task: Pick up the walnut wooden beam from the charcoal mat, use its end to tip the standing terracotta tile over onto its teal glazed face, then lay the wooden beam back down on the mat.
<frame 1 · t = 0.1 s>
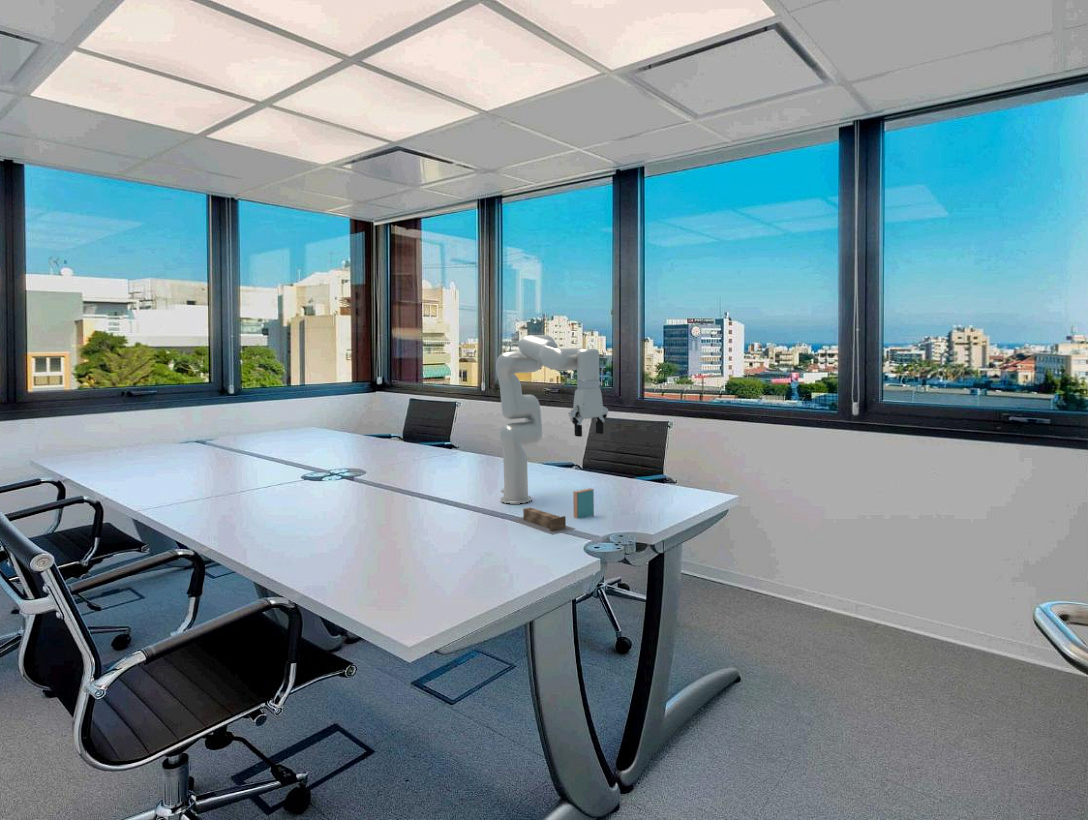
hand: (589, 434, 224), 31 cm above the table, tool pointing down, fingers open, 9 cm apart
tile: (583, 517, 234), on the table
wooden beam: (542, 524, 224), point 1 cm above the table, touching tool mat
tool mat: (542, 526, 224), on the table
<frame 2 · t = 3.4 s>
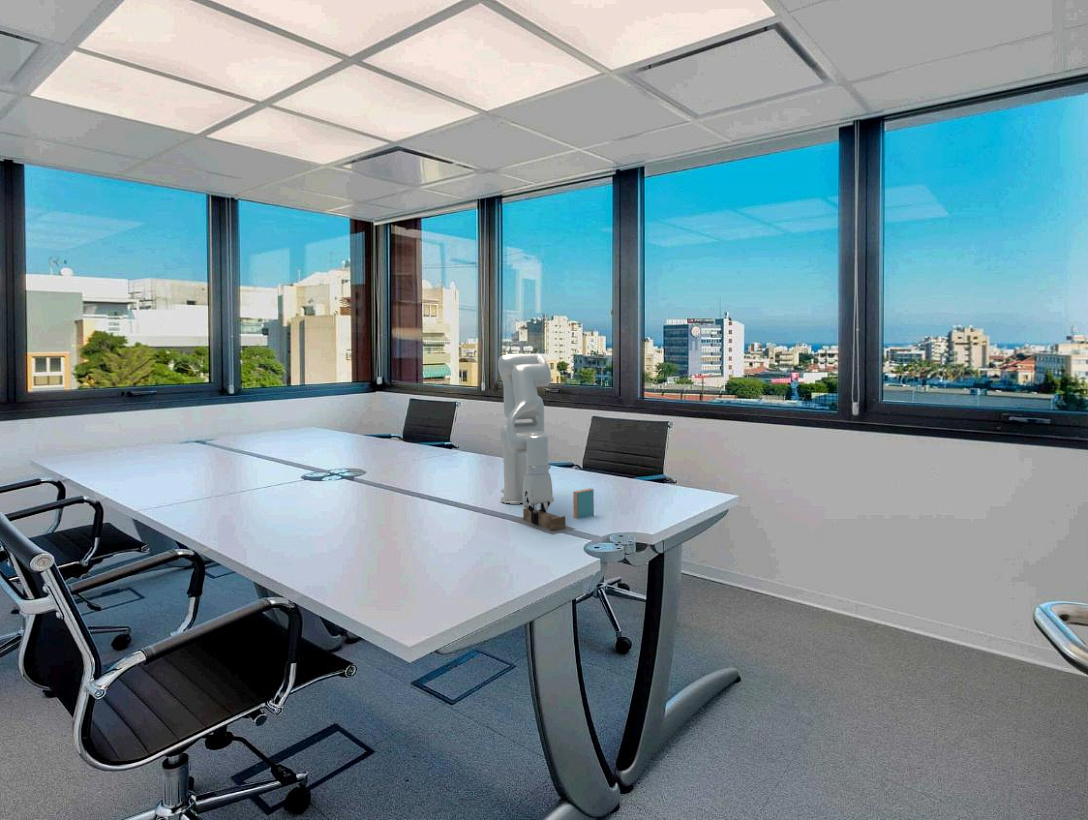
hand: (538, 522, 225), 1 cm above the table, tool pointing down, fingers closed on wooden beam, 2 cm apart
wooden beam: (542, 524, 224), point 1 cm above the table, touching gripper, tool mat
everything else where it was.
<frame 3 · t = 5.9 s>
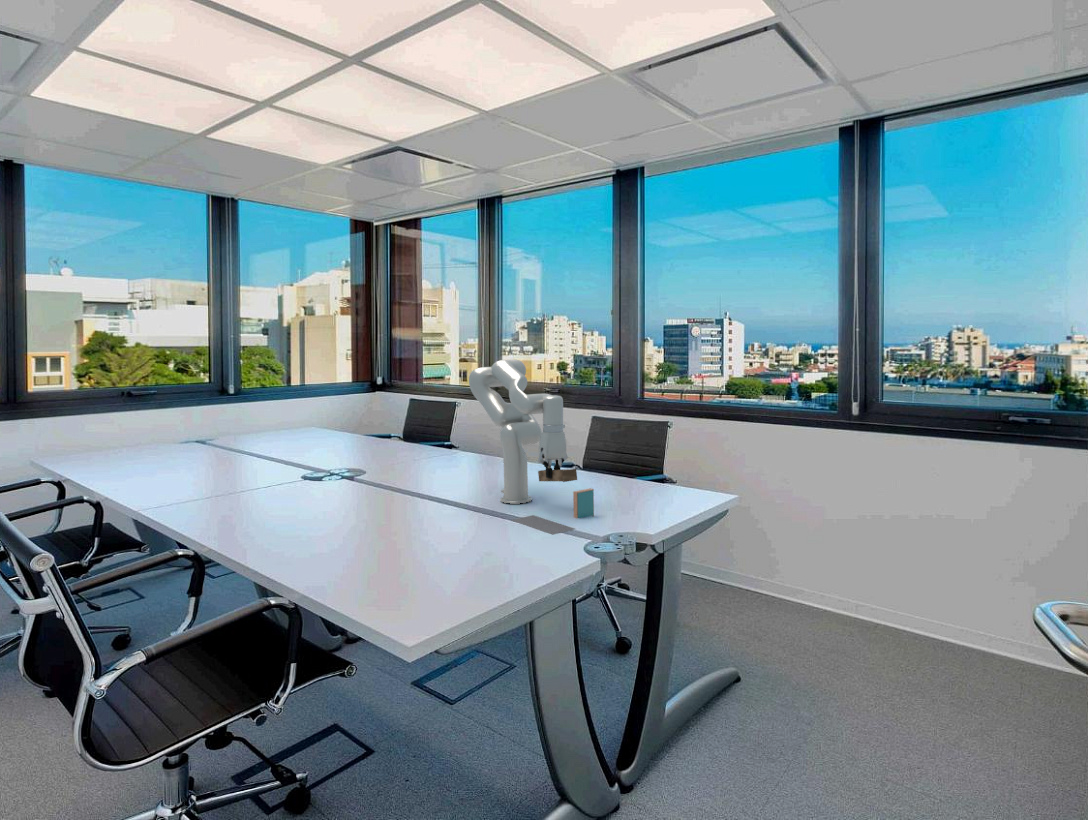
hand: (553, 476, 244), 13 cm above the table, tool pointing down, fingers closed on wooden beam, 3 cm apart
wooden beam: (556, 480, 243), point 12 cm above the table, tilted 9°, touching gripper
everything else where it was.
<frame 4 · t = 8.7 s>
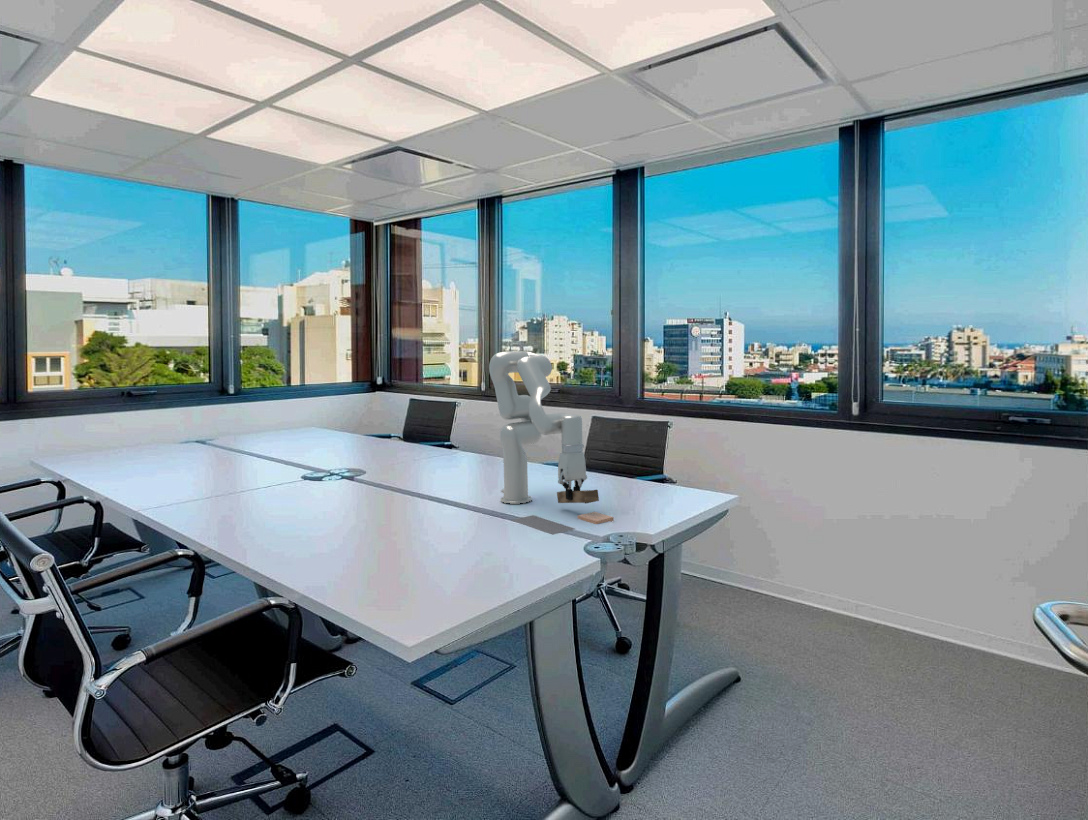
hand: (573, 498, 238), 6 cm above the table, tool pointing down, fingers closed on wooden beam, 3 cm apart
tile: (586, 516, 233), point 1 cm above the table, tilted 90°
wooden beam: (576, 502, 237), point 5 cm above the table, tilted 10°, touching gripper
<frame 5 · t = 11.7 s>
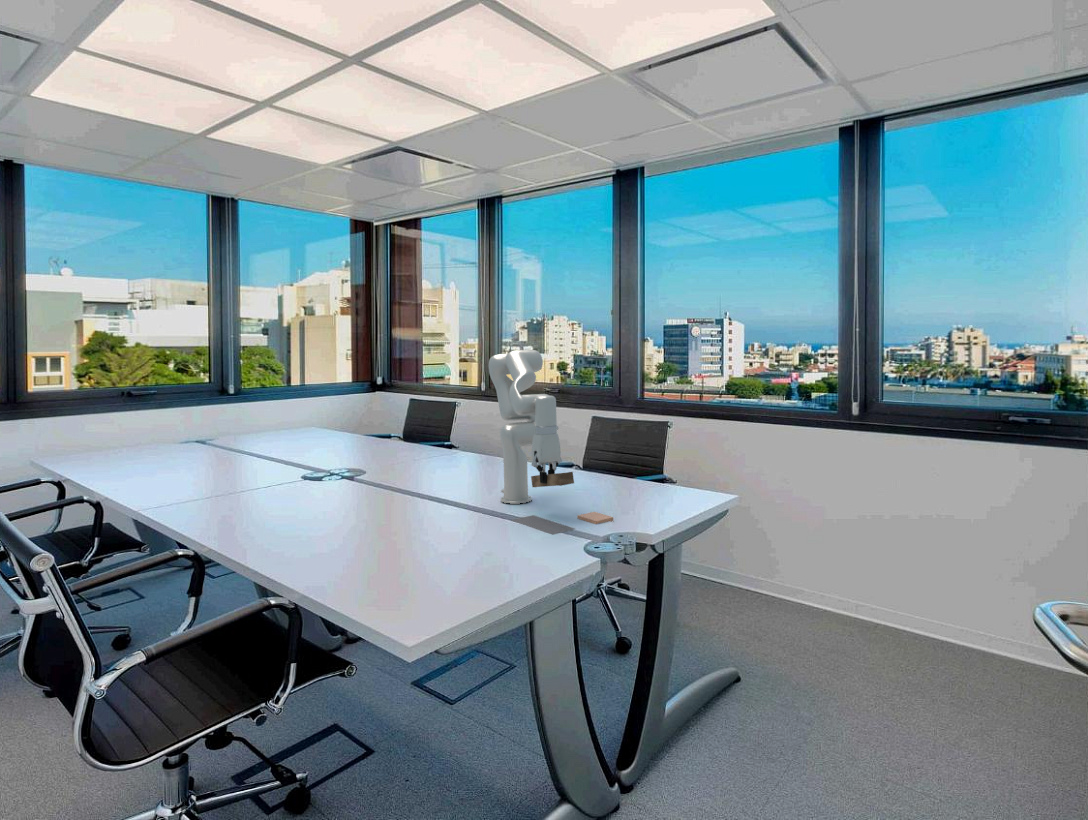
hand: (547, 481, 231), 14 cm above the table, tool pointing down, fingers closed on wooden beam, 3 cm apart
wooden beam: (551, 485, 229), point 13 cm above the table, tilted 11°, touching gripper
everything else where it was.
when the fingers open (3 cm above the table, at t = 14.5 s): wooden beam stays where it is, resting on tool mat.
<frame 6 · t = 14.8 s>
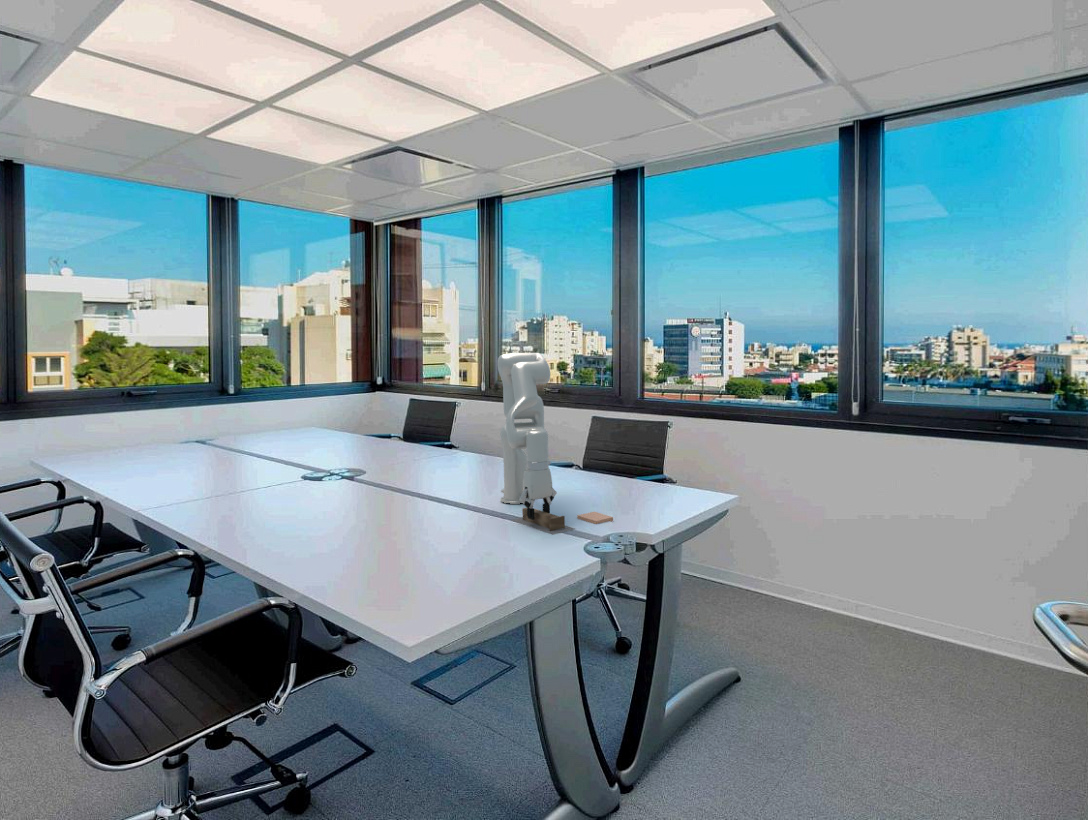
hand: (538, 516, 225), 3 cm above the table, tool pointing down, fingers open, 6 cm apart
wooden beam: (541, 523, 224), point 1 cm above the table, touching tool mat
everything else where it was.
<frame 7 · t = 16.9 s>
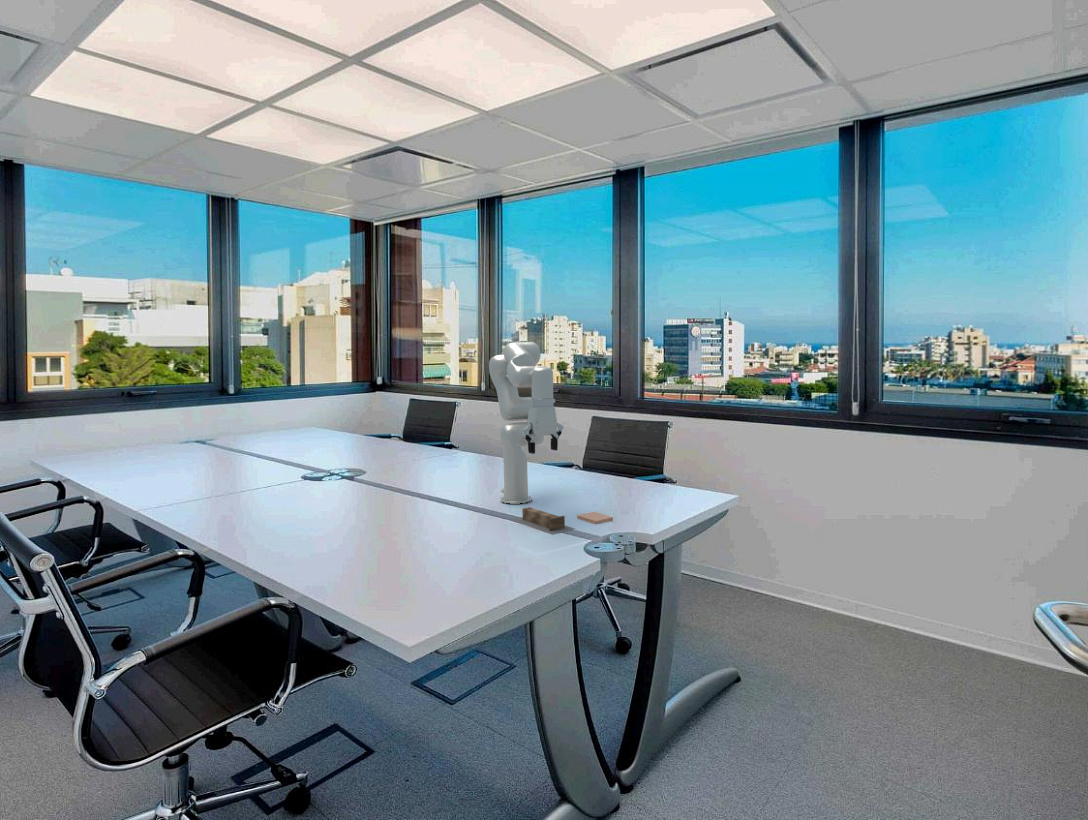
hand: (543, 451, 229), 25 cm above the table, tool pointing down, fingers open, 9 cm apart
nothing on the table moved.
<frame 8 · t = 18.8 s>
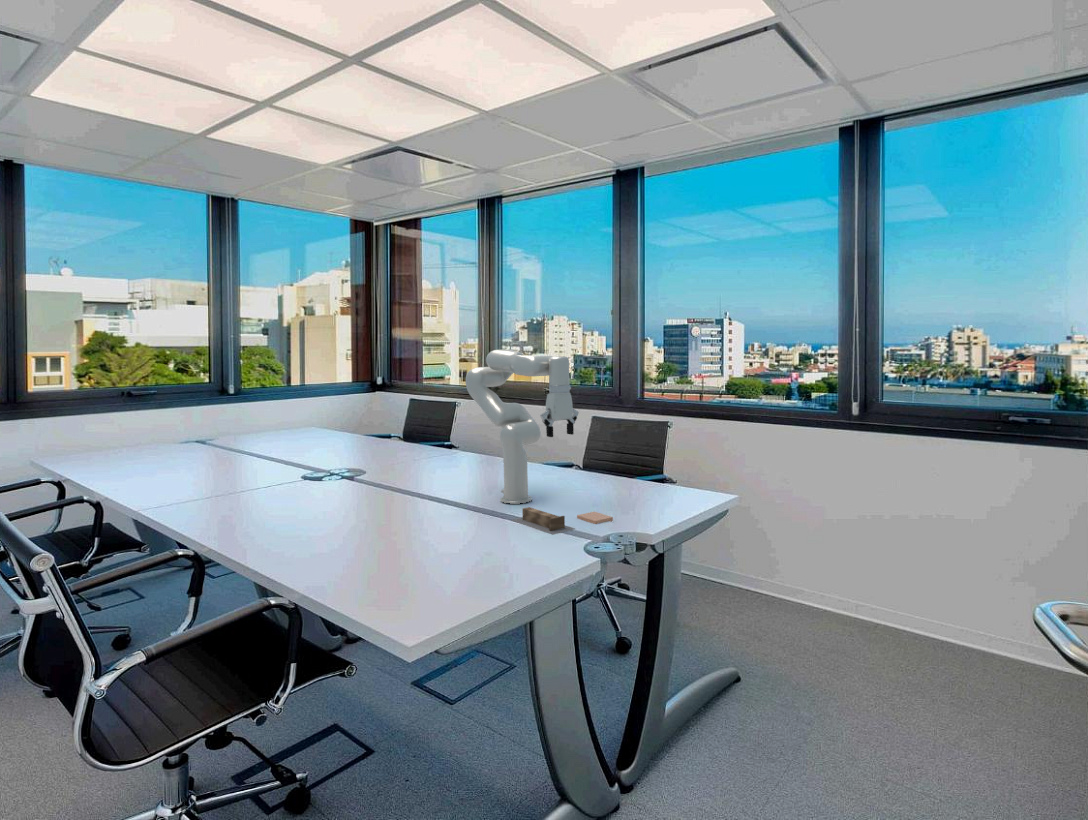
hand: (560, 435, 243), 28 cm above the table, tool pointing down, fingers open, 9 cm apart
nothing on the table moved.
at the end: tile tilted 90°; wooden beam inside the target area (0.6 cm from its centre), point 0.6 cm above the table; the gripper is holding nothing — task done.
